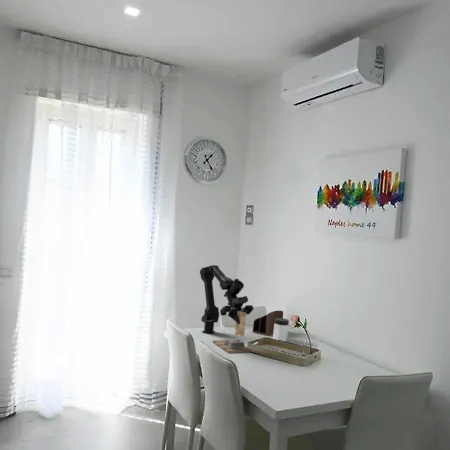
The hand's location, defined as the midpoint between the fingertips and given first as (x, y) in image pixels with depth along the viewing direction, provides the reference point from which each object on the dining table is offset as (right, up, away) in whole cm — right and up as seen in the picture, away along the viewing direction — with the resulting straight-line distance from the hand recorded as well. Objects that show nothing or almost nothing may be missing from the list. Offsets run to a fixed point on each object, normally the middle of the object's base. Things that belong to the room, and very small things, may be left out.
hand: (241, 323), depth 259 cm
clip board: (-5, -13, +2) cm, 14 cm away
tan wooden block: (-1, -7, +1) cm, 7 cm away
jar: (+24, -15, +27) cm, 39 cm away
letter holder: (+18, -15, +44) cm, 50 cm away
